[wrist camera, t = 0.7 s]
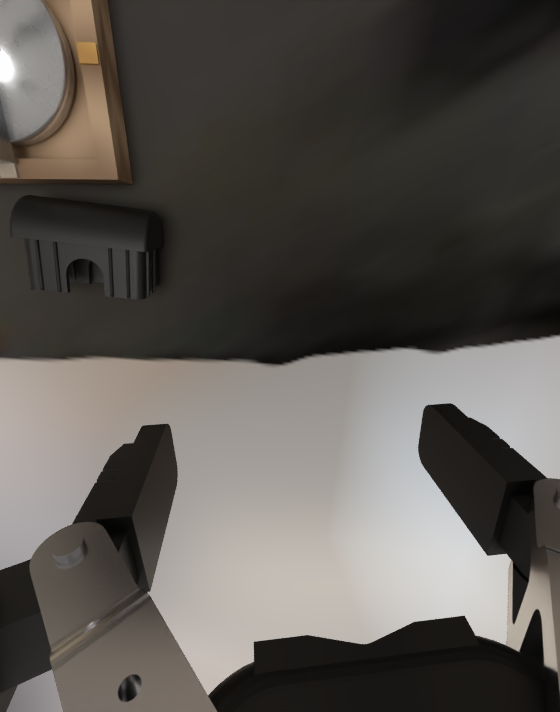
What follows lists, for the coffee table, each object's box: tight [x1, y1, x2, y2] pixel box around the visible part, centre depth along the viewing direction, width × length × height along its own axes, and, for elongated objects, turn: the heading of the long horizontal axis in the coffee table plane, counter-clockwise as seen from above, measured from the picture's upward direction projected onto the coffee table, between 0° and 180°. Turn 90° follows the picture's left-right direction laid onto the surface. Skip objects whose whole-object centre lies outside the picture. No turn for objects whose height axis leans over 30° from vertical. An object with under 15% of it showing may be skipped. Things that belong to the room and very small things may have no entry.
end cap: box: [10, 195, 162, 300], centre depth 30 cm, size 10×7×7 cm
